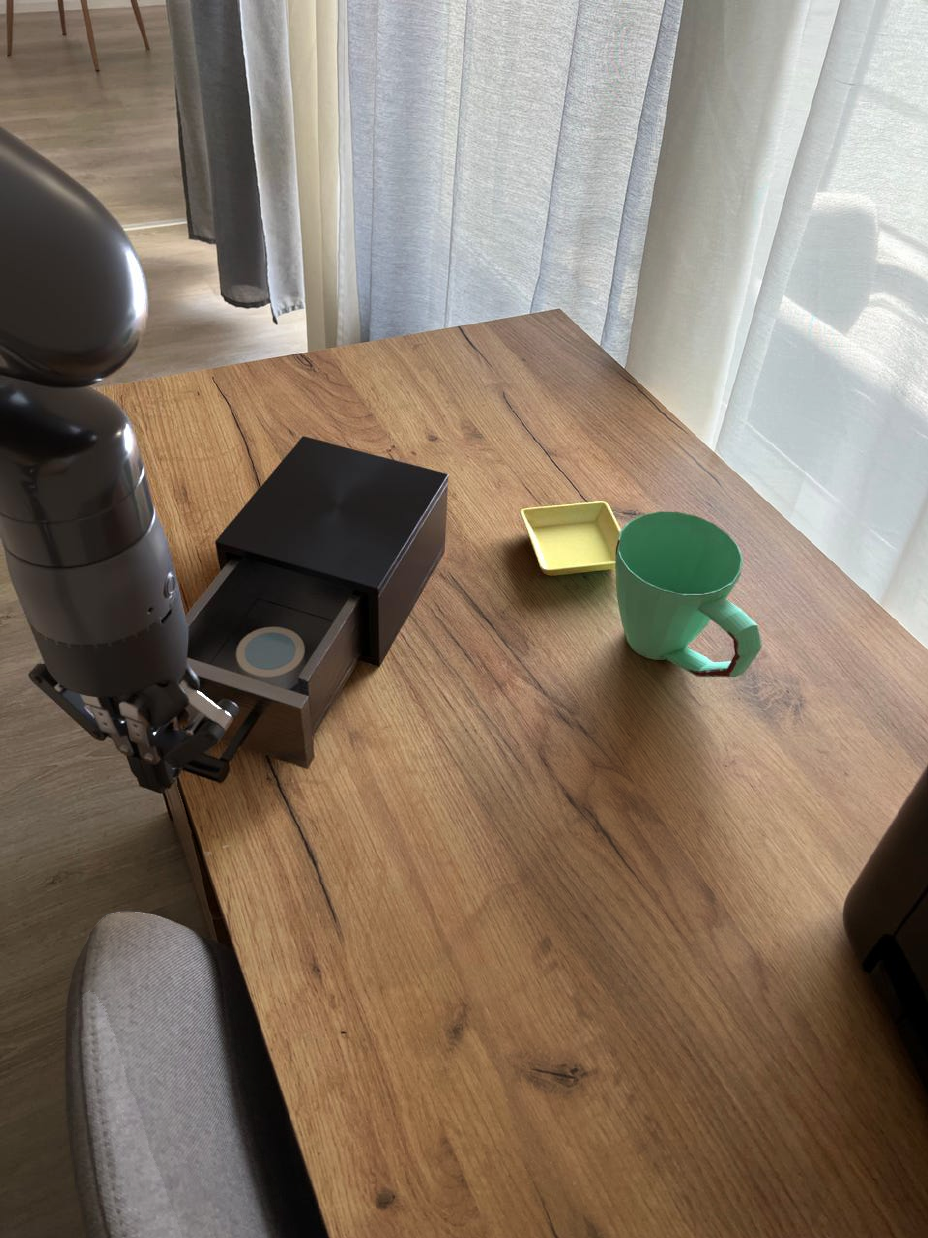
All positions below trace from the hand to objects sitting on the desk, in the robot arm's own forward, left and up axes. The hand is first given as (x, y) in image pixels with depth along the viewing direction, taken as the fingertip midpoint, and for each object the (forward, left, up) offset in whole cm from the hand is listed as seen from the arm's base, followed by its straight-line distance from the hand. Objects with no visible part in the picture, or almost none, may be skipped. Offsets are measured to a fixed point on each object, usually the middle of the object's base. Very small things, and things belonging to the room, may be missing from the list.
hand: (160, 779), depth 61 cm
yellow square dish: (+43, -2, -7) cm, 44 cm away
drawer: (+11, +4, -6) cm, 13 cm away
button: (+13, +5, -5) cm, 15 cm away
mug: (+38, -16, -7) cm, 42 cm away
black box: (+25, +10, -7) cm, 28 cm away
